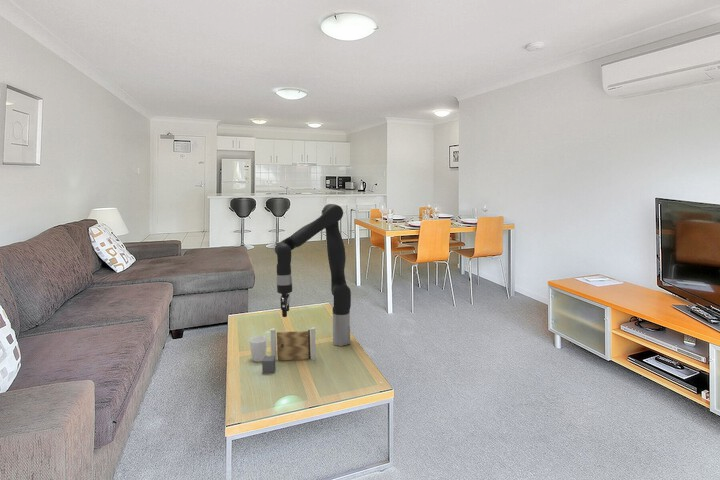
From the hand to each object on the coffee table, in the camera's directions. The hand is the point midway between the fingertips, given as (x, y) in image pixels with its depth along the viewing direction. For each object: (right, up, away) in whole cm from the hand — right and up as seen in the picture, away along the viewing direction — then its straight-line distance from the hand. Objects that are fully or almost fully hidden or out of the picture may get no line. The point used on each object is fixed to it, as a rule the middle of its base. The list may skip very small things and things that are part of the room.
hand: (285, 313), depth 186 cm
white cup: (-12, -21, -4) cm, 25 cm away
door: (+5, -22, -6) cm, 23 cm away
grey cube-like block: (-5, -23, -16) cm, 29 cm away
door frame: (+5, -21, -6) cm, 23 cm away
